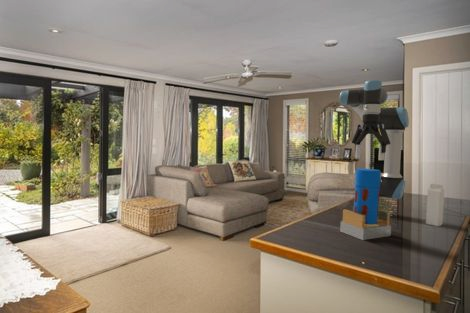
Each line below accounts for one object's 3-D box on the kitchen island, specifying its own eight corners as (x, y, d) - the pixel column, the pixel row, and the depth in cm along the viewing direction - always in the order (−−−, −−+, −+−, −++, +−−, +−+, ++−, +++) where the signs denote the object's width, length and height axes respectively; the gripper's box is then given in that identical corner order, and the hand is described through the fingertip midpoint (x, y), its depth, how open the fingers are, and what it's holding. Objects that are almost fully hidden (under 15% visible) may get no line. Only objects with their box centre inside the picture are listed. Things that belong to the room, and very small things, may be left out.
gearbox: (340, 231, 153) (341, 209, 152) (366, 227, 161) (367, 206, 160) (362, 240, 140) (364, 215, 140) (390, 235, 148) (392, 212, 147)
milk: (437, 226, 167) (440, 185, 166) (425, 223, 172) (428, 184, 170) (442, 224, 171) (445, 184, 169) (430, 222, 176) (432, 183, 174)
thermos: (375, 225, 143) (378, 171, 141) (351, 222, 148) (354, 169, 147) (379, 220, 152) (381, 169, 150) (355, 217, 158) (358, 168, 156)
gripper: (345, 115, 157) (343, 157, 158) (388, 111, 134) (386, 161, 136) (356, 115, 160) (354, 157, 161) (400, 112, 138) (398, 161, 139)
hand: (369, 159), depth 148 cm, fingers open, 13 cm apart
